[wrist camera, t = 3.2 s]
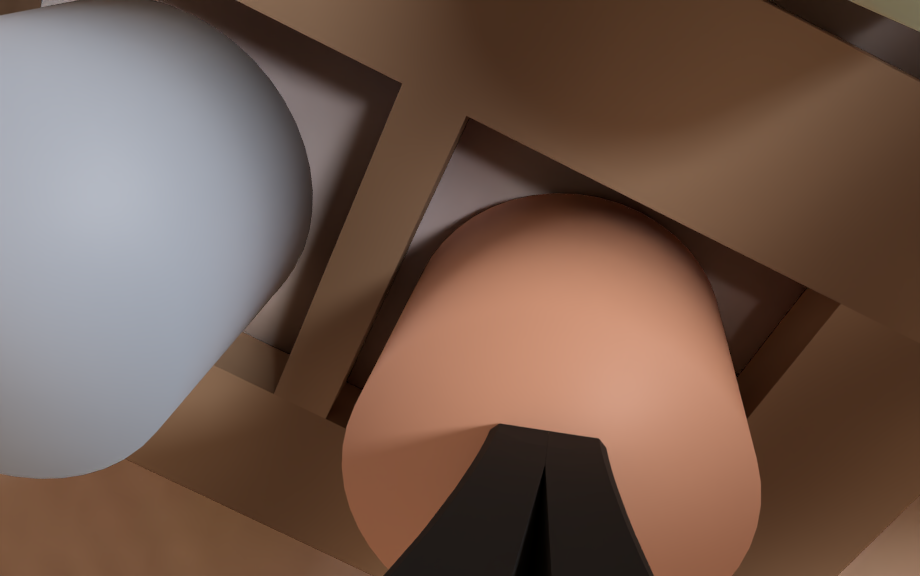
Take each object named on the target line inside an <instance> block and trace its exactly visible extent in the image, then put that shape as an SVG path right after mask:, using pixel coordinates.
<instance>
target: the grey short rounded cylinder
mask: <svg viewBox="0 0 920 576" xmlns="http://www.w3.org/2000/svg"><path fill="white" fill-rule="evenodd" d="M312 198H313V189H312V180H311V172H310V166H309V162H308V158H307V154H306V150H305V146H304V143H303V140H302V138H301V135H300V132H299V130H298V127H297V124H296V122H295V120H294V118H293V116H292V114H291V112H290V111H289V109H288V107H287V105H286V103H285V101H284V99H283V98H282V96H281V95H280V93H279V92H278V90H277V89H276V87H275V86H274V84H273V83H272V81H271V80H270V79H269V78H268V76H267V75H266V74H265V73H264V72H263V71H262V69H261V68H260V67H259V66H258V65H257V63H256V62H255V61H254V60H253V59H252V58H251V57H250V56H249V55H248V54H247V53H245V52H244V51H243V50H242V49H241V48H240V47H239V46H238V45H237V44H236V43H235V42H233V41H232V40H231V39H229V38H228V37H227V36H225V35H224V34H223V33H221V32H220V31H219V30H217V29H216V28H215V27H213V26H211V25H209V24H208V23H206V22H204V21H203V20H201V19H199V18H197V17H196V16H194V15H192V14H190V13H187V12H185V11H182V10H180V9H178V8H175V7H173V6H171V5H167V4H164V3H160V2H157V1H153V0H77V1H72V2H67V3H61V4H56V5H51V6H46V7H41V8H36V9H30V10H25V11H20V12H15V13H10V14H5V15H0V474H4V475H9V476H15V477H25V478H36V479H47V478H66V477H73V476H79V475H85V474H88V473H92V472H95V471H98V470H102V469H105V468H107V467H109V466H111V465H113V464H115V463H118V462H120V461H122V460H124V459H125V458H127V457H128V456H130V455H131V454H132V453H134V452H135V451H137V450H138V449H139V448H141V447H142V446H143V445H144V444H145V443H146V442H147V441H148V440H149V439H150V438H151V437H152V436H153V435H154V434H155V433H156V432H157V431H158V430H159V428H160V427H161V426H162V425H163V424H164V423H165V421H166V420H167V419H168V418H169V417H170V416H171V414H172V413H173V412H174V411H175V410H176V409H177V407H178V406H179V405H180V404H181V403H182V402H183V400H184V399H185V398H186V397H187V396H188V395H189V393H190V392H191V391H192V390H193V389H194V388H195V386H196V385H197V384H198V383H199V382H200V381H201V379H202V378H203V377H204V376H205V375H206V374H207V372H208V371H209V370H210V369H211V368H212V367H213V365H214V364H215V363H216V362H217V361H218V359H219V358H220V357H221V356H222V355H223V354H224V352H225V351H226V350H227V349H228V348H229V347H230V345H231V344H232V343H233V342H234V341H235V340H236V338H237V337H238V336H239V335H240V334H241V333H242V331H243V330H244V329H245V328H246V327H247V326H248V324H249V323H250V322H251V321H252V320H253V319H254V317H255V316H256V315H257V314H258V313H259V312H260V310H261V309H262V308H263V307H264V306H265V305H266V303H267V302H268V301H269V300H270V299H271V298H272V296H273V295H274V294H275V293H276V292H277V290H278V289H279V288H280V287H281V286H282V285H283V283H284V282H285V281H286V280H287V278H288V277H289V275H290V274H291V272H292V271H293V269H294V268H295V266H296V264H297V262H298V260H299V258H300V256H301V254H302V252H303V250H304V247H305V243H306V240H307V237H308V234H309V229H310V223H311V217H312Z"/></svg>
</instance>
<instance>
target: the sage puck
mask: <svg viewBox="0 0 920 576" xmlns="http://www.w3.org/2000/svg"><path fill="white" fill-rule="evenodd" d="M848 1H851V2H853V3H855V4H857V5H860V6H862V7H864V8H867V9H869V10H871V11H873V12H876V13H878V14H880V15H882V16H885V17H887V18H889V19H891V20H894V21H896V22H898V23H900V24H903V25H905V26H907V27H909V28H912V29H914V30H916V31H919V32H920V0H848Z"/></svg>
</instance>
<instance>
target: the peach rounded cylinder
mask: <svg viewBox="0 0 920 576" xmlns="http://www.w3.org/2000/svg"><path fill="white" fill-rule="evenodd" d="M500 423H501V424H507V425H514V426H520V427H527V428H533V429H540V430H546V431H553V432H559V433H566V434H573V435H579V436H586V437H593V438H599V439H600V440H601V442H602V443H603V444H604V445H605V447H606V448H607V453H608V457H609V461H610V465H611V469H612V472H613V475H614V478H615V481H616V484H617V487H618V490H619V493H620V496H621V499H622V501H623V504H624V507H625V509H626V512H627V515H628V517H629V520H630V522H631V525H632V527H633V530H634V532H635V535H636V537H637V539H638V541H639V543H640V546H641V548H642V550H643V552H644V555H645V557H646V559H647V561H648V564H649V566H650V568H651V570H652V572H653V575H654V576H732V575H733V574H734V572H735V571H736V570H737V569H738V567H739V566H740V564H741V562H742V560H743V559H744V557H745V555H746V553H747V551H748V550H749V548H750V545H751V543H752V540H753V537H754V534H755V531H756V529H757V525H758V519H759V513H760V507H761V480H760V474H759V469H758V463H757V458H756V454H755V450H754V446H753V442H752V438H751V434H750V430H749V426H748V422H747V418H746V415H745V411H744V407H743V403H742V399H741V395H740V391H739V387H738V383H737V379H736V375H735V371H734V367H733V363H732V359H731V355H730V351H729V348H728V344H727V340H726V336H725V332H724V328H723V324H722V320H721V316H720V312H719V308H718V304H717V301H716V298H715V295H714V292H713V289H712V287H711V284H710V282H709V280H708V278H707V276H706V275H705V273H704V271H703V269H702V267H701V266H700V264H699V263H698V262H697V260H696V259H695V257H694V256H693V255H692V253H691V252H690V251H689V250H688V249H687V248H686V247H685V246H684V245H683V243H682V242H681V241H680V240H679V239H678V238H677V237H676V236H675V235H673V234H672V233H671V232H669V231H668V230H667V229H666V228H664V227H663V226H662V225H660V224H659V223H658V222H656V221H654V220H653V219H651V218H649V217H648V216H646V215H644V214H642V213H641V212H639V211H636V210H634V209H632V208H629V207H627V206H625V205H622V204H620V203H617V202H613V201H610V200H606V199H603V198H599V197H593V196H587V195H580V194H562V193H552V194H541V195H532V196H527V197H523V198H518V199H514V200H510V201H508V202H505V203H502V204H499V205H497V206H494V207H491V208H489V209H488V210H486V211H484V212H482V213H480V214H478V215H476V216H474V217H473V218H471V219H470V220H468V221H467V222H466V223H464V224H463V225H461V226H460V227H459V228H457V229H456V230H455V231H454V232H453V233H452V234H451V235H450V236H449V237H448V238H447V239H446V240H445V241H444V242H443V243H442V244H441V245H440V247H439V248H438V249H437V250H436V252H435V253H434V254H433V255H432V257H431V259H430V260H429V262H428V264H427V266H426V267H425V269H424V271H423V273H422V275H421V277H420V278H419V280H418V282H417V284H416V286H415V288H414V290H413V292H412V294H411V296H410V298H409V300H408V302H407V304H406V306H405V308H404V310H403V312H402V314H401V316H400V318H399V320H398V322H397V324H396V326H395V328H394V329H393V331H392V333H391V335H390V337H389V339H388V341H387V343H386V345H385V347H384V349H383V351H382V353H381V355H380V357H379V359H378V361H377V363H376V365H375V367H374V369H373V371H372V373H371V375H370V377H369V379H368V380H367V382H366V384H365V386H364V388H363V390H362V392H361V394H360V396H359V398H358V400H357V402H356V404H355V406H354V409H353V411H352V414H351V416H350V419H349V422H348V424H347V427H346V432H345V437H344V442H343V449H342V474H343V482H344V489H345V493H346V496H347V500H348V504H349V507H350V510H351V512H352V515H353V517H354V519H355V522H356V524H357V526H358V528H359V530H360V532H361V533H362V535H363V537H364V538H365V540H366V542H367V543H368V545H369V547H370V548H371V549H372V550H373V552H374V553H375V554H376V556H377V557H378V558H379V559H380V561H381V562H382V563H383V564H384V565H385V566H386V567H387V569H388V570H389V569H390V567H391V566H392V565H393V564H394V563H395V562H396V561H397V559H398V558H399V557H400V556H401V555H402V554H403V553H404V551H405V550H406V549H407V548H408V547H409V546H410V545H411V544H412V542H413V541H414V540H415V539H416V538H417V537H418V535H419V534H420V533H421V532H422V531H423V529H424V528H425V527H426V526H427V524H428V523H429V522H430V520H431V519H432V518H433V517H434V515H435V514H436V513H437V511H438V510H439V509H440V507H441V506H442V505H443V503H444V502H445V501H446V499H447V498H448V497H449V495H450V494H451V493H452V491H453V490H454V489H455V487H456V486H457V485H458V483H459V482H460V480H461V479H462V477H463V476H464V474H465V473H466V471H467V470H468V468H469V467H470V465H471V464H472V462H473V460H474V459H475V457H476V456H477V454H478V452H479V450H480V449H481V447H482V445H483V443H484V441H485V439H486V437H487V435H488V433H489V431H490V429H492V428H493V427H495V426H496V425H498V424H500ZM548 434H549V433H548Z"/></svg>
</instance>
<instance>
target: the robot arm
mask: <svg viewBox="0 0 920 576" xmlns="http://www.w3.org/2000/svg"><path fill="white" fill-rule="evenodd" d="M548 433H549V434H548ZM383 576H654V575H653V572H652V570H651V568H650V566H649V564H648V561H647V559H646V557H645V555H644V552H643V550H642V548H641V546H640V543H639V541H638V539H637V537H636V535H635V532H634V530H633V527H632V525H631V522H630V520H629V517H628V515H627V512H626V509H625V507H624V504H623V501H622V499H621V496H620V493H619V490H618V487H617V484H616V481H615V478H614V475H613V472H612V469H611V465H610V461H609V457H608V453H607V448H606V447H605V445H604V444H603V443H602V442H601V440H600V439H599V438H593V437H586V436H579V435H573V434H566V433H559V432H553V431H546V430H540V429H533V428H527V427H520V426H514V425H507V424H501V423H500V424H498V425H496V426H495V427H493V428H492V429H490V431H489V433H488V435H487V437H486V439H485V441H484V443H483V445H482V447H481V449H480V450H479V452H478V454H477V456H476V457H475V459H474V460H473V462H472V464H471V465H470V467H469V468H468V470H467V471H466V473H465V474H464V476H463V477H462V479H461V480H460V482H459V483H458V485H457V486H456V487H455V489H454V490H453V491H452V493H451V494H450V495H449V497H448V498H447V499H446V501H445V502H444V503H443V505H442V506H441V507H440V509H439V510H438V511H437V513H436V514H435V515H434V517H433V518H432V519H431V520H430V522H429V523H428V524H427V526H426V527H425V528H424V529H423V531H422V532H421V533H420V534H419V535H418V537H417V538H416V539H415V540H414V541H413V542H412V544H411V545H410V546H409V547H408V548H407V549H406V550H405V551H404V553H403V554H402V555H401V556H400V557H399V558H398V559H397V561H396V562H395V563H394V564H393V565H392V566H391V567H390V569H389V570H388V571H387V572H386V573H385V574H384V575H383Z"/></svg>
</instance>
